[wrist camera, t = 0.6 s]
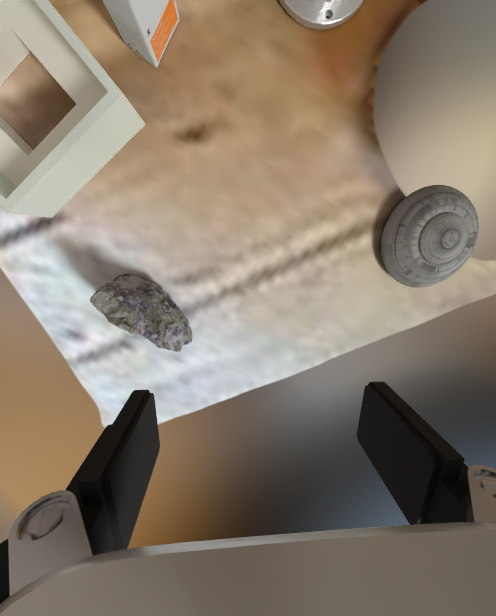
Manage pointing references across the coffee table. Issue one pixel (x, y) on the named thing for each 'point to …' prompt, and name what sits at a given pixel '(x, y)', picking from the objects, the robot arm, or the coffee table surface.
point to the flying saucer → (429, 236)
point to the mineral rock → (143, 311)
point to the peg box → (73, 127)
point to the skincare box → (145, 25)
